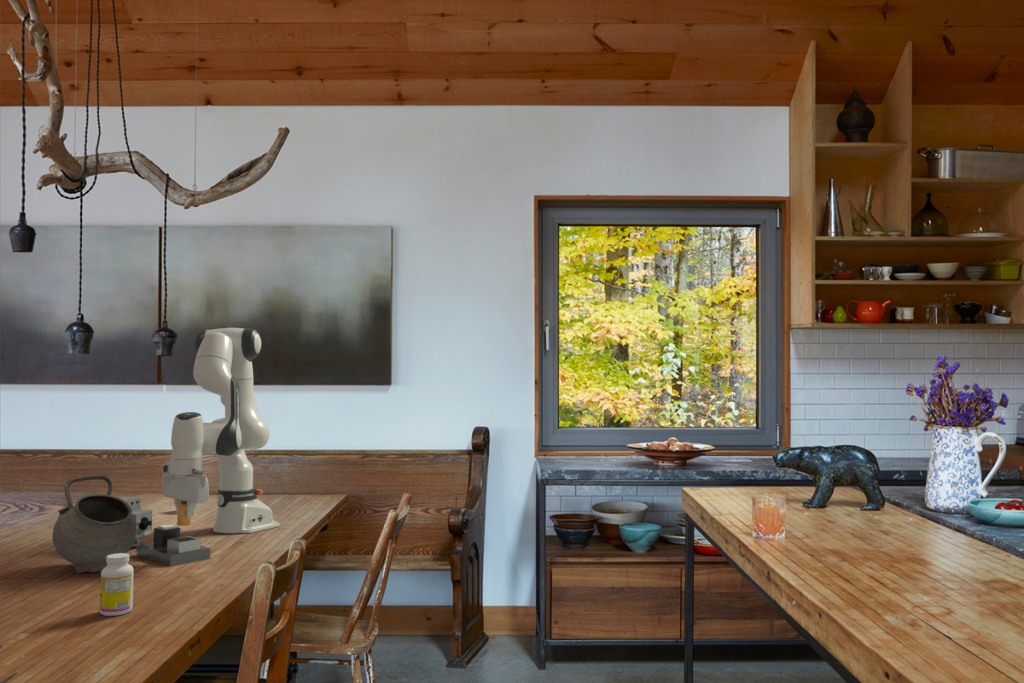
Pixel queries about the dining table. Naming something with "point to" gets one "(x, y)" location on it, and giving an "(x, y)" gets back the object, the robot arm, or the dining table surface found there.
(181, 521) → the orange rounded cylinder
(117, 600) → the supplement bottle
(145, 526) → the circuit breaker
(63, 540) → the pot
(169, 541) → the grey socket board
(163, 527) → the button
